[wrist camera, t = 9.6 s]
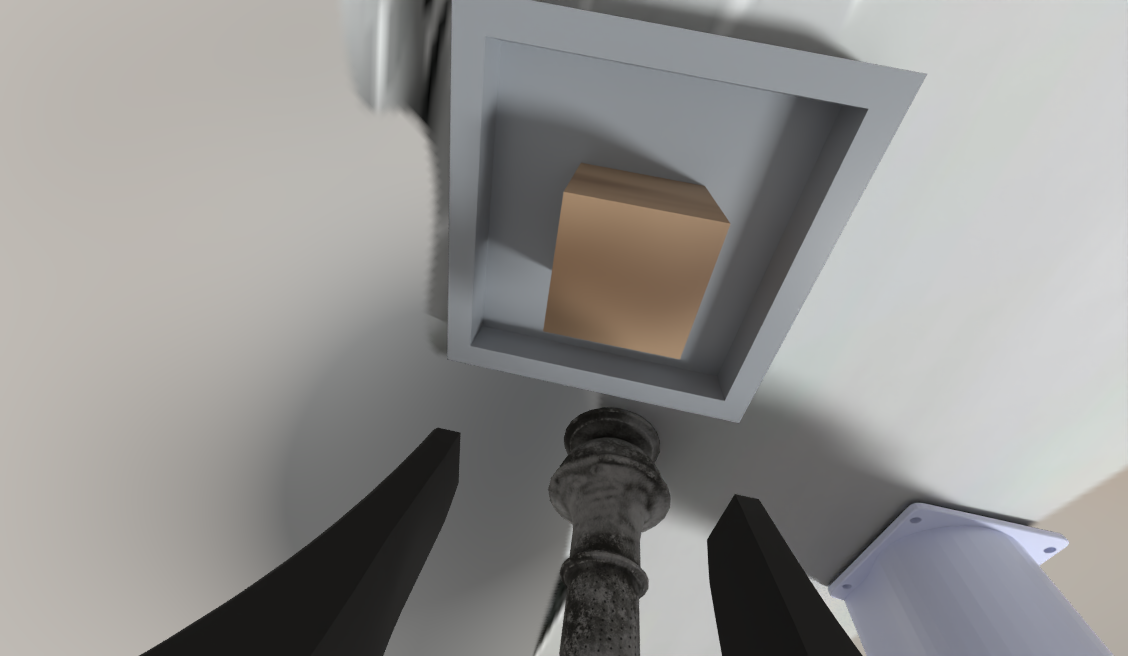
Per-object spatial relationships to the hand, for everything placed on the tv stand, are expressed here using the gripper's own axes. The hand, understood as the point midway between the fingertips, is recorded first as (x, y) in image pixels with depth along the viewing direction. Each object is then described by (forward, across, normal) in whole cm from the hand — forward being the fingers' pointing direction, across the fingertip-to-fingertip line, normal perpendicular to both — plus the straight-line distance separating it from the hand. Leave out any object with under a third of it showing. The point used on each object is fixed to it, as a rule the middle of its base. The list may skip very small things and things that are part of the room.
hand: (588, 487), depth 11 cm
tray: (+9, 0, -4) cm, 10 cm away
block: (+9, 0, -4) cm, 10 cm away
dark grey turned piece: (+10, -2, +8) cm, 13 cm away
